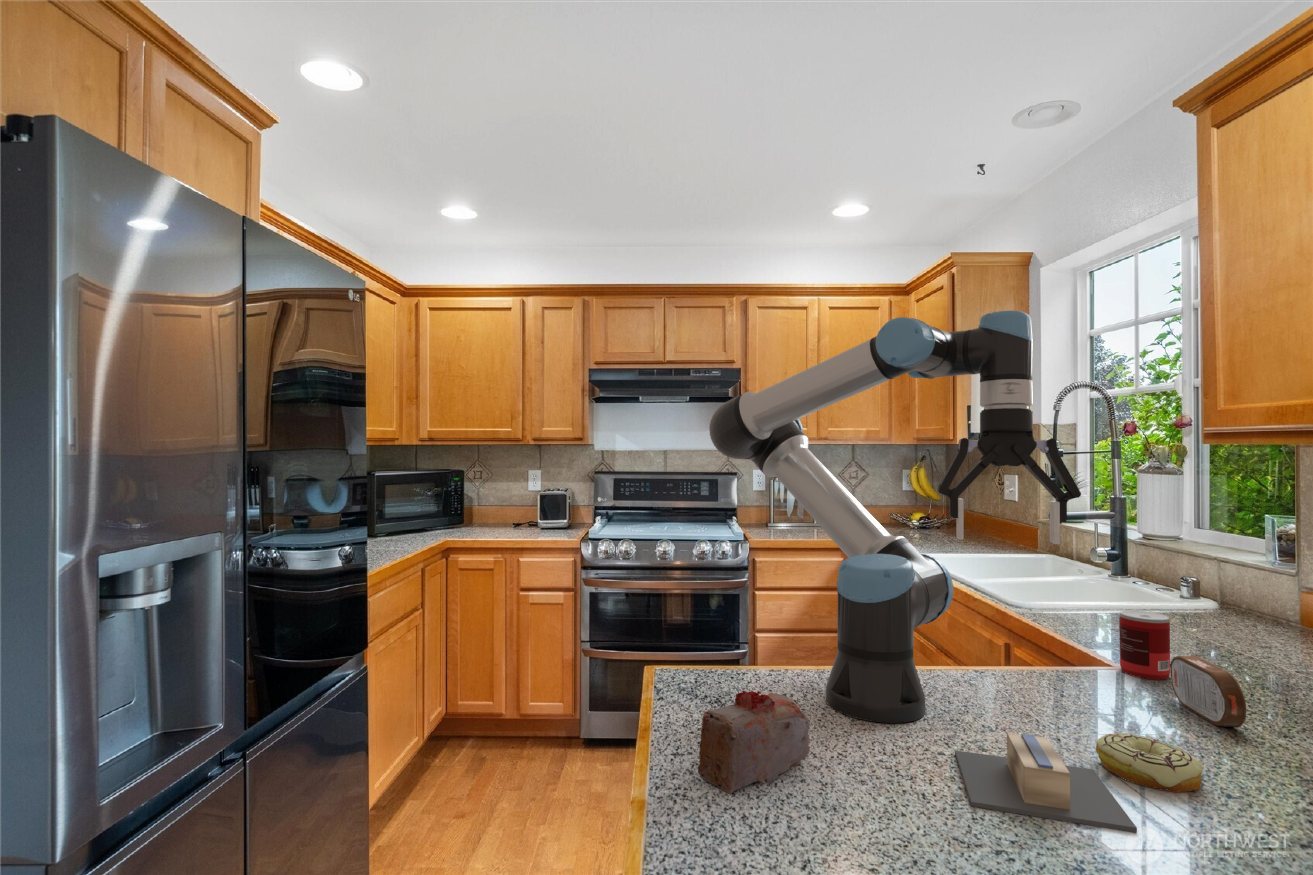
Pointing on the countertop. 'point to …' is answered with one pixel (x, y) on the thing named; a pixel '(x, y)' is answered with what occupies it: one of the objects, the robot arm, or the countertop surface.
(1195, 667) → the tin
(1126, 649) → the canned food
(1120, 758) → the decorated donut
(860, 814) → the countertop surface
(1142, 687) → the countertop surface
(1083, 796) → the mat
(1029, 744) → the card box
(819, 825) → the countertop surface
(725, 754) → the food item
